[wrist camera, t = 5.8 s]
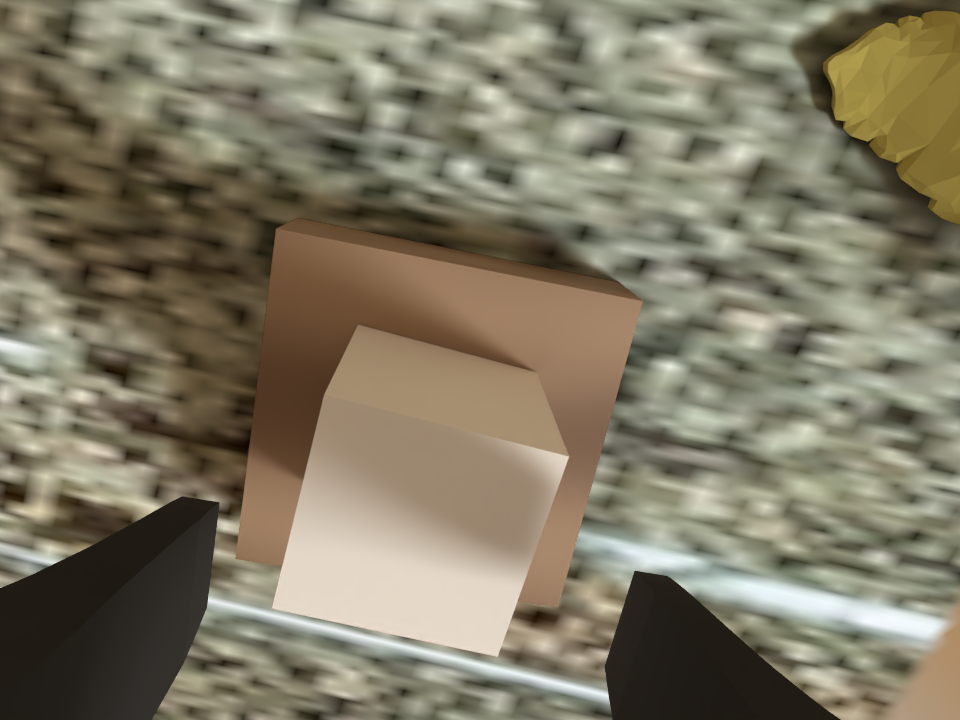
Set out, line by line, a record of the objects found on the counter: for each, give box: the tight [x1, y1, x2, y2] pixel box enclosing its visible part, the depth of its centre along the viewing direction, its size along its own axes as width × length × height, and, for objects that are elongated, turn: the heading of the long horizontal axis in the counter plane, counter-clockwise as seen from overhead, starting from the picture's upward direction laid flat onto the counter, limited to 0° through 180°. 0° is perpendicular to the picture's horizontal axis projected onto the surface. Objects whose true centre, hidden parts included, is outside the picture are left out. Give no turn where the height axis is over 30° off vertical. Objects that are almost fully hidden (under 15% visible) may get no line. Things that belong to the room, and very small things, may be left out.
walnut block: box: [236, 218, 643, 607], centre depth 20 cm, size 9×9×3 cm
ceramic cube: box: [272, 325, 569, 657], centre depth 16 cm, size 5×5×5 cm
